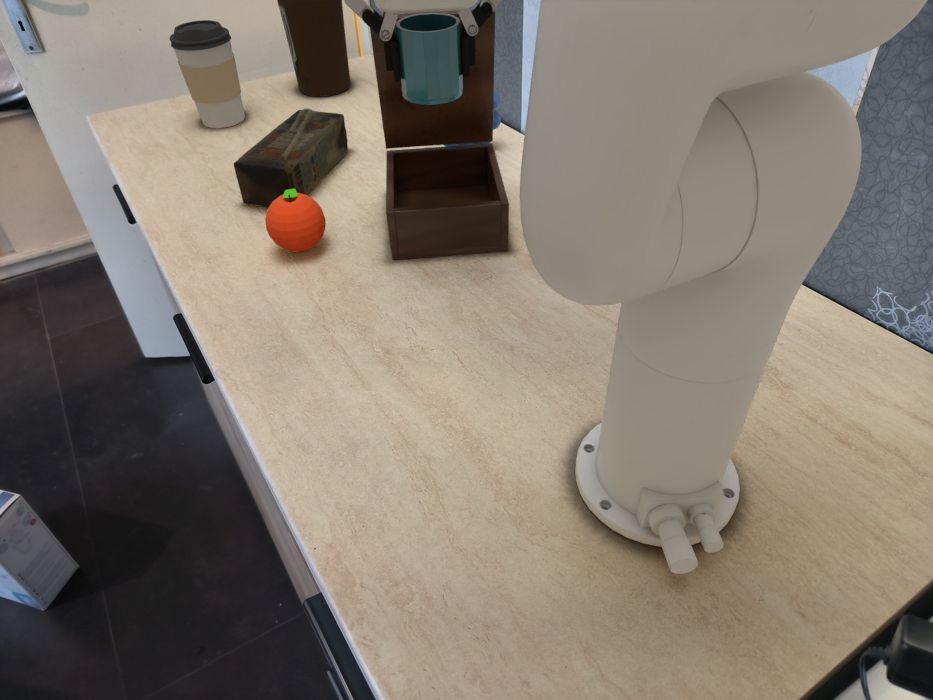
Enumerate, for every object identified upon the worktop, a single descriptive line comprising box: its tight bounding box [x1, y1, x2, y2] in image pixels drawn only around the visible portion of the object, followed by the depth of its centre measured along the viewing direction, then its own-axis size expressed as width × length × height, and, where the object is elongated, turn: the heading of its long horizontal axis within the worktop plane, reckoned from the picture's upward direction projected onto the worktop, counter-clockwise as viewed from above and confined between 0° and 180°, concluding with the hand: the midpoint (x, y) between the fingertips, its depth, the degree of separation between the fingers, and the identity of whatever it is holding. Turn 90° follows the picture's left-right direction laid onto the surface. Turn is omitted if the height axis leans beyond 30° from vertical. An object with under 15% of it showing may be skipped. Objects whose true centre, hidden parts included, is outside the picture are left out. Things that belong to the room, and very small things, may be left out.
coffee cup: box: [169, 19, 246, 129], centre depth 104 cm, size 9×9×15 cm
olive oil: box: [276, 0, 351, 97], centre depth 111 cm, size 11×11×25 cm
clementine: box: [264, 189, 327, 253], centre depth 77 cm, size 8×7×7 cm
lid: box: [369, 8, 496, 150], centre depth 79 cm, size 17×14×6 cm
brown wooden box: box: [385, 142, 510, 261], centre depth 81 cm, size 16×14×6 cm
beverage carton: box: [233, 107, 349, 208], centre depth 91 cm, size 8×19×7 cm, turn 165°
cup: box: [396, 13, 463, 105], centre depth 67 cm, size 6×6×7 cm
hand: (431, 73), depth 68 cm, fingers closed on cup, 6 cm apart
